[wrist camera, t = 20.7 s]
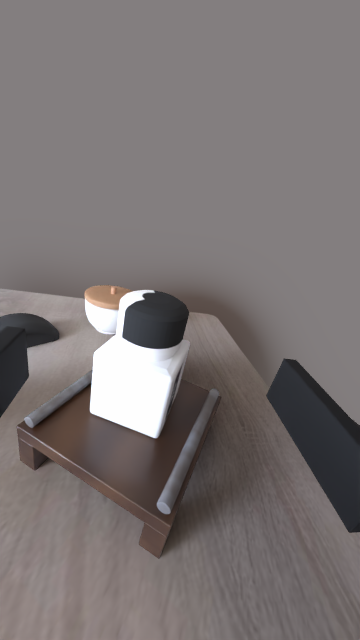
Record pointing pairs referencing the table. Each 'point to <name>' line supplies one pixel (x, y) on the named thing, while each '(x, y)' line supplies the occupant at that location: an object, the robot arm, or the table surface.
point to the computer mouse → (31, 327)
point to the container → (141, 362)
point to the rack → (123, 452)
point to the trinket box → (104, 307)
